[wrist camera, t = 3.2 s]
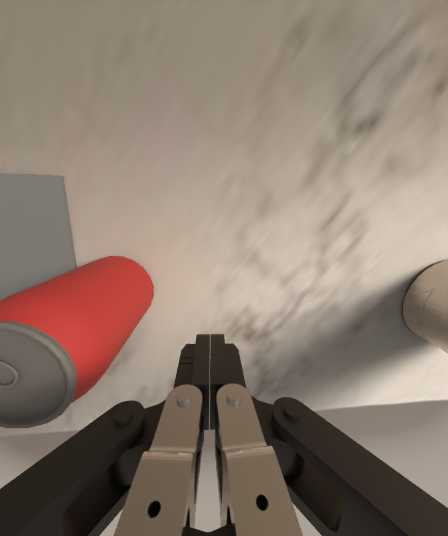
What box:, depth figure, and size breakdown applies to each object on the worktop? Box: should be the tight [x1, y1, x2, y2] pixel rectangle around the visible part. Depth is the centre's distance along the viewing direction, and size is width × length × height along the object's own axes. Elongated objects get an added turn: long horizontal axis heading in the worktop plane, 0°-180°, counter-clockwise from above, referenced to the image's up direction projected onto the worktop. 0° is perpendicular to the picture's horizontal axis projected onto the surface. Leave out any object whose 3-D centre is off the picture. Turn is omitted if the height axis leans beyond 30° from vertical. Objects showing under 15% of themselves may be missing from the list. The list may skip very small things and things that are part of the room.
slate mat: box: [0, 173, 77, 301], centre depth 20 cm, size 12×20×1 cm, turn 178°
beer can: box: [0, 256, 154, 428], centre depth 15 cm, size 7×7×12 cm
